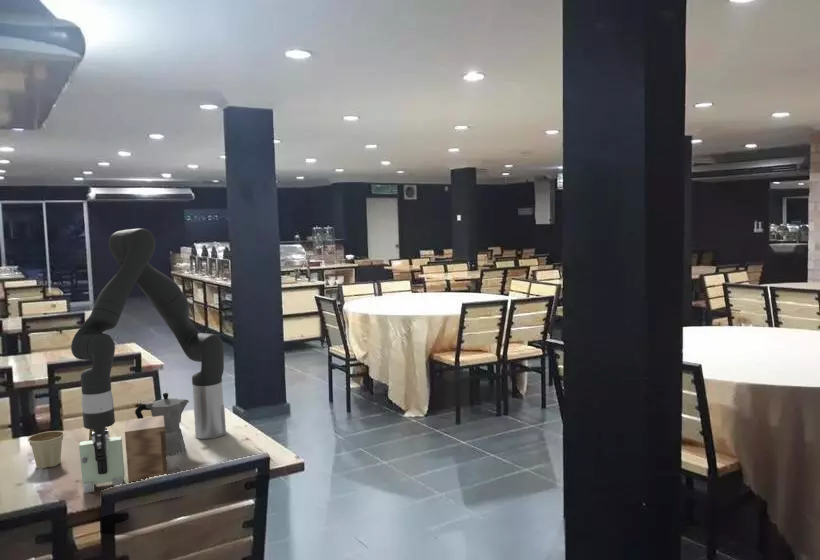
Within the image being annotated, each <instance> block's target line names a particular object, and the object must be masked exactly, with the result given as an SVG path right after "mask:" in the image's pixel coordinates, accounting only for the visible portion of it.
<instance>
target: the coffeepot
mask: <svg viewBox="0 0 820 560" xmlns="http://www.w3.org/2000/svg"><path fill="white" fill-rule="evenodd" d="M162 396H163V397H162V399H159V400H155V401H152V402H147V403H141V404H138V407H137V408H136V409H135V411H134V413H135V416H136V417H137V418H136V419H140V418H144V415H143V413H142V411H150V412H151V417H156V416H163V415H164V425H165V439H166V453H167V455H169V456H173V455H174V454H175V455H177V454H176V453H178V454H180V453H182V452H184V451H185V449H186V443H185V440H184V436H183V432H182V428H181V427H180V423H181V422H182V414H183V411H184V410H185V408H186V407H187V405H188V403H190V401H189V400H188V399H185V398H181V399H180V398H173V397H172V398H169V393H168V392H164V393H163V394H162ZM179 452H180V453H179ZM175 455H174V456H175Z"/></svg>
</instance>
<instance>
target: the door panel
mask: <svg viewBox="0 0 820 560" xmlns="http://www.w3.org/2000/svg"><path fill="white" fill-rule="evenodd" d="M122 439H123V438H122V435H120V436H114V437H109V438H108V450H107V451H106V453H107V470H108V471H107V473H106V474H101V475H100V474H98V465H97V461H96V460H95V452H94V448H93V442H92V440H90V441H89V440H85V441H84V440H83V441H80V442H79V446H78V447H79V449H78V450H79V459H80V471H81V481H82V485H83V483H87V482H94V485H98V484H105V483H113V478H118V477H123V481H124V480H125V465H124V453H123V451H124V450H123V440H122ZM105 447H106V444H105ZM101 455H104V454H98V456H101Z"/></svg>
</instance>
